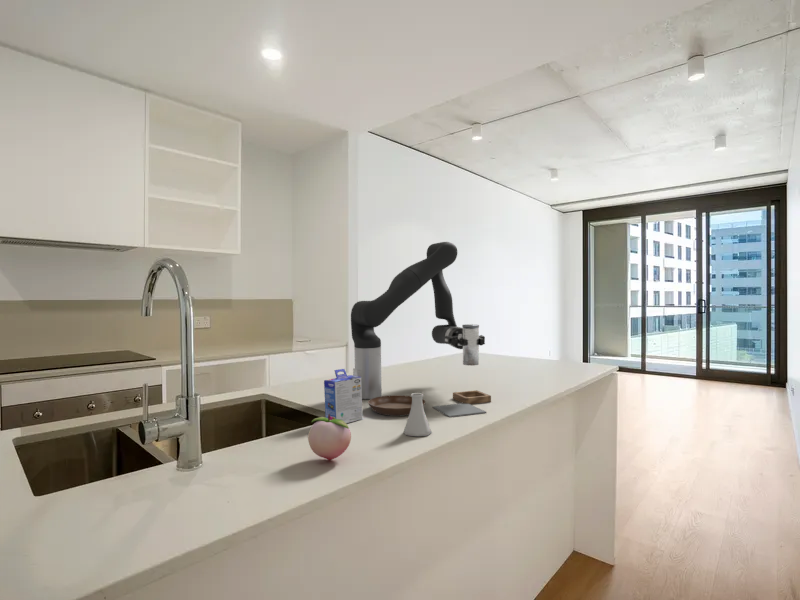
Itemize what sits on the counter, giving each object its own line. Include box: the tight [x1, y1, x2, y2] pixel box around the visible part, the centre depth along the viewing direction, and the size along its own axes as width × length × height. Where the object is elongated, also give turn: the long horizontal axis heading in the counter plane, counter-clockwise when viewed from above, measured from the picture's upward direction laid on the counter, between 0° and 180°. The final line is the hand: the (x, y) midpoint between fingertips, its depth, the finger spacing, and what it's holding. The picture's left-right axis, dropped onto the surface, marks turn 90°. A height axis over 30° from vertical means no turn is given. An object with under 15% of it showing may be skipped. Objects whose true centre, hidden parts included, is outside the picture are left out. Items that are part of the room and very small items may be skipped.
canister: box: [461, 323, 480, 366], centre depth 152 cm, size 5×5×13 cm
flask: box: [403, 392, 433, 437], centre depth 118 cm, size 7×7×10 cm
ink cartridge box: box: [323, 368, 363, 424], centre depth 129 cm, size 10×6×14 cm, turn 137°
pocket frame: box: [452, 390, 492, 405], centre depth 152 cm, size 9×9×2 cm
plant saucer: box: [367, 394, 427, 417], centre depth 141 cm, size 18×18×3 cm
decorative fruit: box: [307, 414, 352, 461], centre depth 99 cm, size 9×8×10 cm
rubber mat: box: [432, 402, 487, 418], centre depth 140 cm, size 12×12×1 cm
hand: (473, 342), depth 150 cm, fingers closed on canister, 5 cm apart
